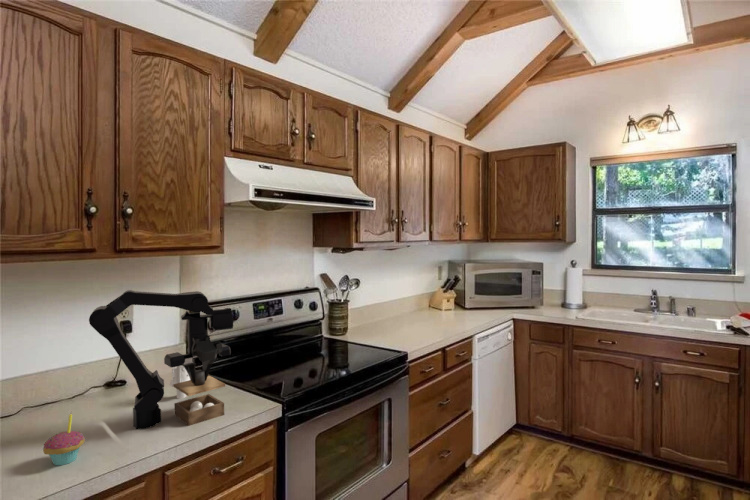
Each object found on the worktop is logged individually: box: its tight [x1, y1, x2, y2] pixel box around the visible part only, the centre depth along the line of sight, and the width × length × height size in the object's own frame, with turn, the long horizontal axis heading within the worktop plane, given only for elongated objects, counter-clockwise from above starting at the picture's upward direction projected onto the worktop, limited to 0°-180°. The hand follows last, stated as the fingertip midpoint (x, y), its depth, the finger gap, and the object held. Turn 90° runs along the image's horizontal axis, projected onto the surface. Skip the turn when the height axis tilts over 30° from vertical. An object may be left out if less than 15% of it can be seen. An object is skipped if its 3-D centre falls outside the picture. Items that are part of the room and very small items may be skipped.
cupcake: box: [42, 410, 85, 466], centre depth 110 cm, size 9×8×12 cm
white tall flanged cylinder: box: [169, 365, 191, 400], centre depth 151 cm, size 7×7×15 cm
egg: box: [190, 401, 203, 409], centre depth 137 cm, size 4×4×4 cm
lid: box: [173, 369, 226, 397], centre depth 135 cm, size 11×11×5 cm
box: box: [174, 393, 225, 427], centre depth 136 cm, size 11×11×4 cm
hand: (199, 381), depth 135 cm, fingers closed on lid, 3 cm apart
